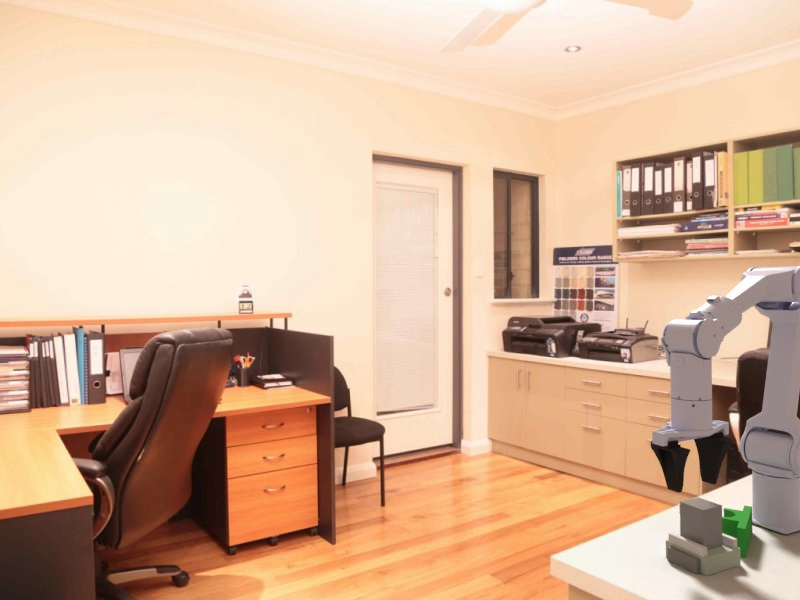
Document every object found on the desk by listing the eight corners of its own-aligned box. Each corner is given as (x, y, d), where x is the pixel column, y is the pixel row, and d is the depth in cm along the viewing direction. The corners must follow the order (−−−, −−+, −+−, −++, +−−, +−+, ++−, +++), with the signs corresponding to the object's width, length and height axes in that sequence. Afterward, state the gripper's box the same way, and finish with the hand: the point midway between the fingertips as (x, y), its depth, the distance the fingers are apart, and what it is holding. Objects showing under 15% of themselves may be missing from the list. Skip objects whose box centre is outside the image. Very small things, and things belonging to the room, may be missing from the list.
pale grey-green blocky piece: (698, 547, 96) (698, 523, 96) (740, 565, 89) (740, 539, 89) (662, 557, 92) (661, 533, 92) (702, 576, 86) (702, 550, 86)
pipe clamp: (726, 529, 103) (726, 502, 103) (752, 534, 101) (752, 506, 101) (717, 552, 94) (717, 523, 94) (745, 558, 92) (745, 528, 92)
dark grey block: (692, 533, 95) (691, 495, 95) (722, 545, 90) (721, 505, 90) (673, 538, 93) (673, 499, 93) (703, 551, 88) (703, 510, 88)
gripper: (700, 389, 100) (701, 472, 100) (635, 398, 93) (636, 486, 94) (741, 396, 93) (741, 484, 94) (674, 405, 87) (675, 500, 87)
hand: (692, 486), depth 93 cm, fingers open, 7 cm apart
